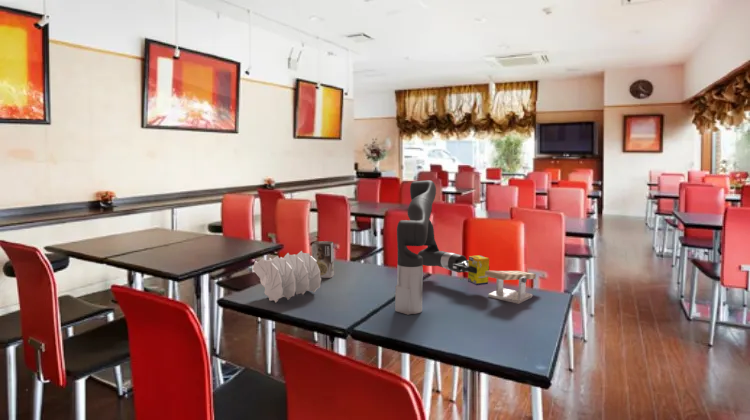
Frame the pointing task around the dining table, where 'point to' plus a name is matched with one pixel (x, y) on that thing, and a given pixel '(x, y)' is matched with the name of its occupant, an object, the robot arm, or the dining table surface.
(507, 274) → the beam
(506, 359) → the dining table surface
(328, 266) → the coffee box
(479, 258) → the supplement box
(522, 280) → the beam stand
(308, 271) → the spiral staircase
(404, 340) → the dining table surface
